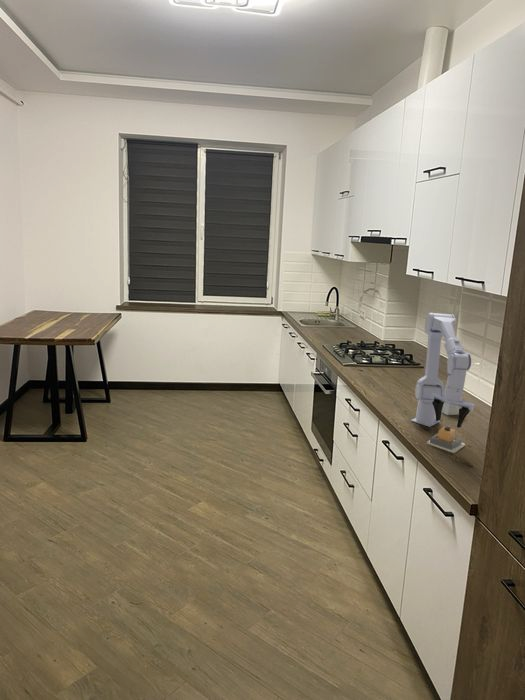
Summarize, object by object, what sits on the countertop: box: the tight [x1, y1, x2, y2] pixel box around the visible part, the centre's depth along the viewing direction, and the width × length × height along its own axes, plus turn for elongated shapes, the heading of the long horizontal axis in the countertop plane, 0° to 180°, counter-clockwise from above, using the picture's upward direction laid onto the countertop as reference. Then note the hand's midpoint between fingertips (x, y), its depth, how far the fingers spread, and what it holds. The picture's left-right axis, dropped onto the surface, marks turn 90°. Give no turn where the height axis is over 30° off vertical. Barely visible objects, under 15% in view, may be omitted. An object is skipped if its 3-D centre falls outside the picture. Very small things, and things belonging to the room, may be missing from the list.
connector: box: [437, 426, 456, 443], centre depth 183 cm, size 7×4×6 cm, turn 138°
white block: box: [441, 384, 460, 416], centre depth 218 cm, size 6×4×12 cm
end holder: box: [426, 433, 466, 454], centre depth 183 cm, size 10×10×3 cm
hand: (448, 423), depth 181 cm, fingers open, 7 cm apart
